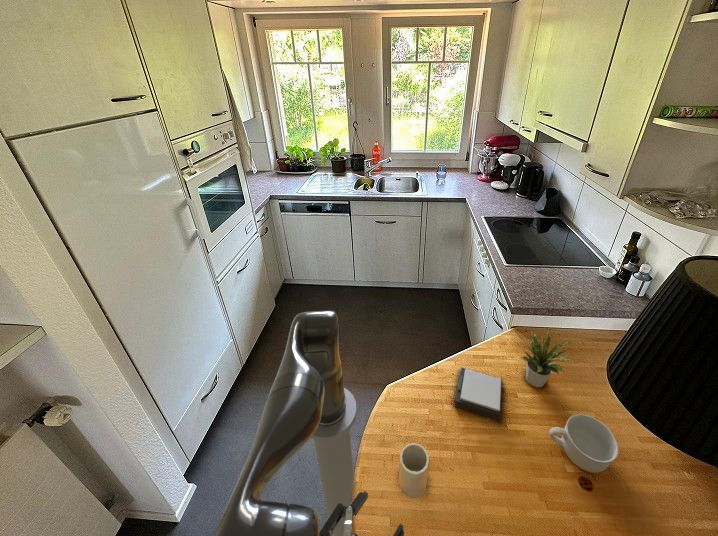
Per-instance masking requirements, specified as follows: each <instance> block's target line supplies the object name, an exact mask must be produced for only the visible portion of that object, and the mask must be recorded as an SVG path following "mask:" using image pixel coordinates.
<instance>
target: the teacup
mask: <svg viewBox="0 0 718 536" xmlns="http://www.w3.org/2000/svg"><path fill="white" fill-rule="evenodd" d="M548 433H549V437H550V439H551V440H552V441H553V442H554V443H556V444H557V445H559V447H560V448H563V451H564V453H565V455H566V457H568V459H569V460H570V461H571V462H572V463H573V464H574V465H576V466H577V467H578V468H579V469H581V470H583V471H585V472H589V473H600V472H604V471H606V470H607V469H608V468H609V467H610V466H611V464H612V463H613V462H614V461H616V459H617V458H618V456H619V444H618V440H617V439H616V437H615V435H614V433H613V432H612V431H611V430H610V428H608V426H606V425H605V424H604V423H603V422H602V421H600V420H599V419H597V418H595V417H593V416H591V415H588V414H583V413H578V414H573V415H571V416H569V418H568V419H567V421H566V423H565V426H564V428H562V427H559V426H554V427H552V428H550V429H549V432H548ZM557 435H561V438H560V437H558V436H557Z"/></svg>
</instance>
